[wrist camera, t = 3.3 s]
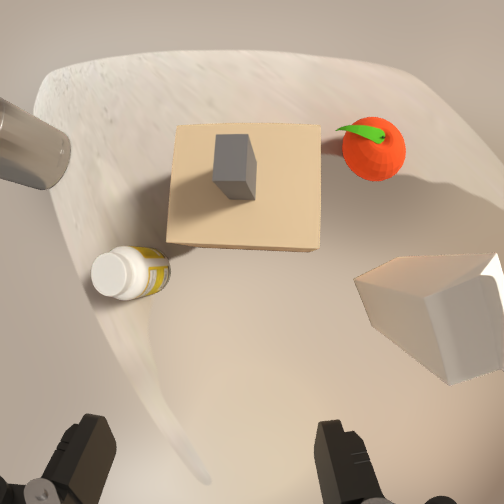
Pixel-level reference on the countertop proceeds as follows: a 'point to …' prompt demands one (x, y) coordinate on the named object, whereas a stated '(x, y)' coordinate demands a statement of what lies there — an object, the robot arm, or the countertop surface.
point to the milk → (441, 311)
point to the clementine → (373, 148)
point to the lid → (246, 185)
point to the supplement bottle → (130, 272)
